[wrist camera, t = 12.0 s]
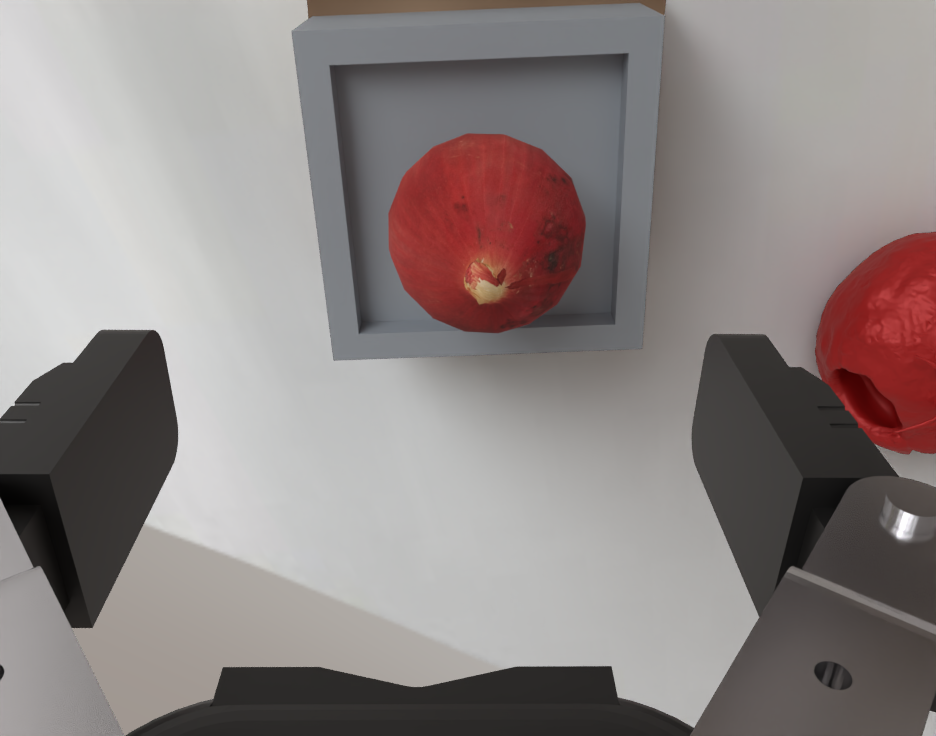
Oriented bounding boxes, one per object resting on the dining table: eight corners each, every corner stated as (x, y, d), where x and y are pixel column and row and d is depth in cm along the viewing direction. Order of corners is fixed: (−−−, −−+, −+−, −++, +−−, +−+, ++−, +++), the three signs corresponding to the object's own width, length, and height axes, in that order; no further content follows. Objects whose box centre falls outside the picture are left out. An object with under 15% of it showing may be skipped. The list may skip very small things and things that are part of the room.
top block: (312, 16, 28) (291, 31, 25) (639, 2, 28) (664, 15, 25) (346, 313, 34) (333, 360, 30) (623, 303, 34) (642, 348, 30)
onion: (577, 111, 27) (620, 183, 20) (561, 278, 30) (594, 393, 23) (395, 106, 27) (375, 176, 20) (396, 274, 30) (379, 388, 23)
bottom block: (326, -25, 32) (305, -15, 28) (638, -23, 33) (667, -12, 28) (345, 268, 38) (330, 314, 34) (611, 269, 38) (631, 315, 34)
